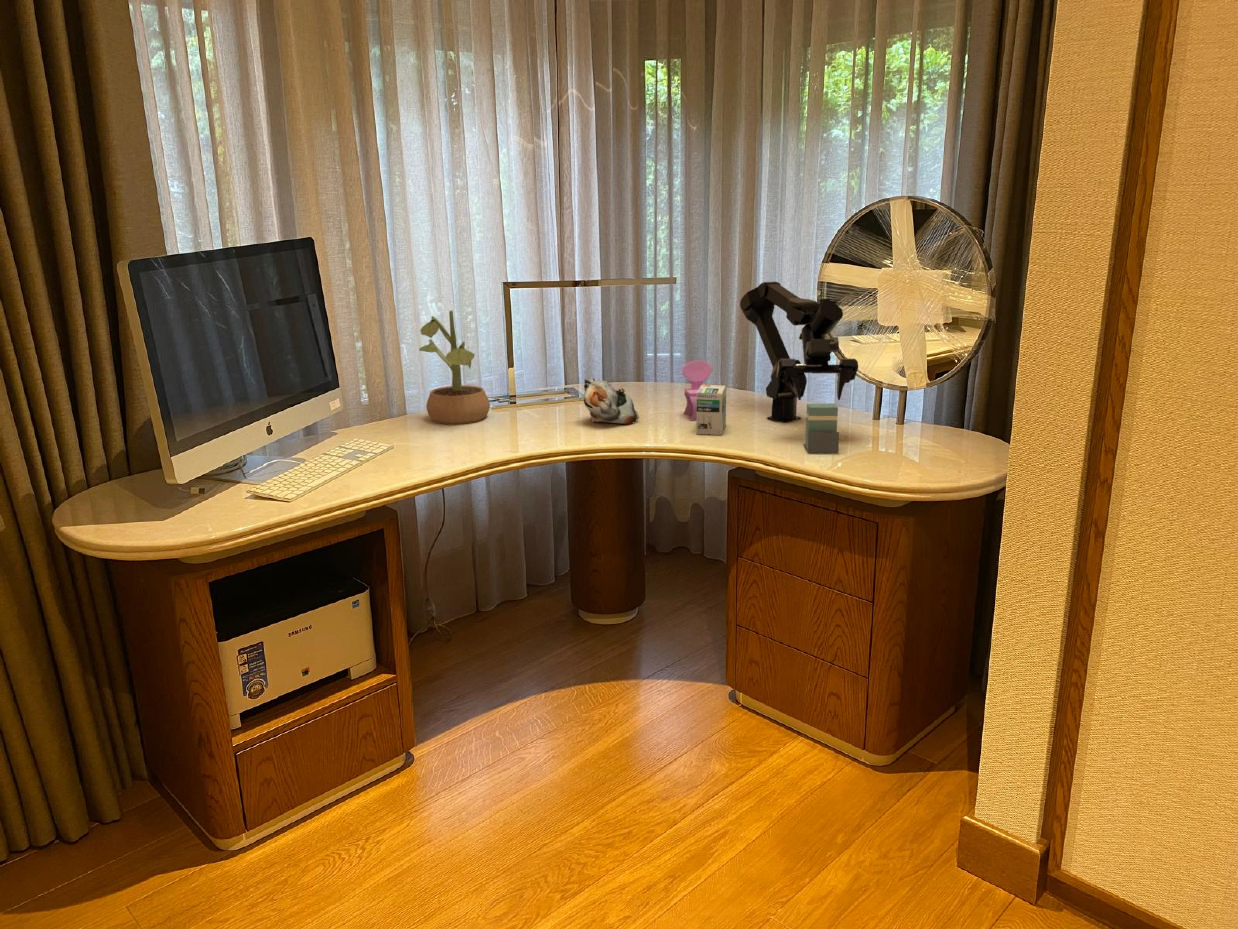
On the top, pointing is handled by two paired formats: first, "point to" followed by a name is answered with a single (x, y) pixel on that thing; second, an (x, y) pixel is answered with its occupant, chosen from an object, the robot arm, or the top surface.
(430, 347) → the potted plant
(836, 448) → the bookend
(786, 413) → the robot arm
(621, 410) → the lucky cat figurine
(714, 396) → the light bulb box
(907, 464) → the top surface
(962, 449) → the top surface
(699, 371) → the toy chair
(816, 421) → the green striped box
